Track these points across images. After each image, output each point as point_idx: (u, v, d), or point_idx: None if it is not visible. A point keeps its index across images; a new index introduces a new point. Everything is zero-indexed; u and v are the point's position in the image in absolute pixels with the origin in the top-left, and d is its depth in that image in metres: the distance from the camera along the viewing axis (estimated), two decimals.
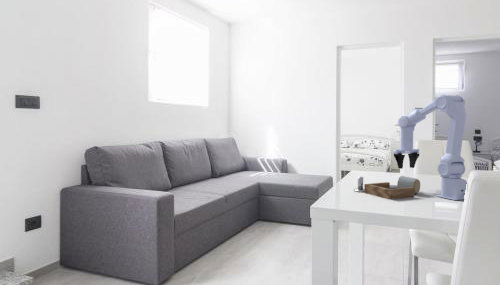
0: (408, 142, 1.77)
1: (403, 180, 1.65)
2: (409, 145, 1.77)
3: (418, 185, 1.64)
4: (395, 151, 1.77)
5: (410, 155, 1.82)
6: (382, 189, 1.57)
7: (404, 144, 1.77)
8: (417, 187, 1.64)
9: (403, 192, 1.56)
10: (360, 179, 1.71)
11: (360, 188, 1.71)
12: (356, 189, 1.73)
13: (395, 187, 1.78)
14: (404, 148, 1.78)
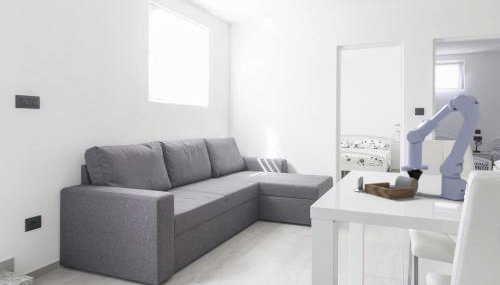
0: (417, 159, 1.65)
1: (401, 180, 1.66)
2: (417, 162, 1.65)
3: (416, 185, 1.64)
4: (403, 168, 1.66)
5: (413, 172, 1.69)
6: (382, 189, 1.57)
7: (412, 161, 1.66)
8: (415, 187, 1.64)
9: (403, 192, 1.56)
10: (360, 179, 1.71)
11: (360, 188, 1.71)
12: (356, 189, 1.73)
13: None
14: (412, 165, 1.66)
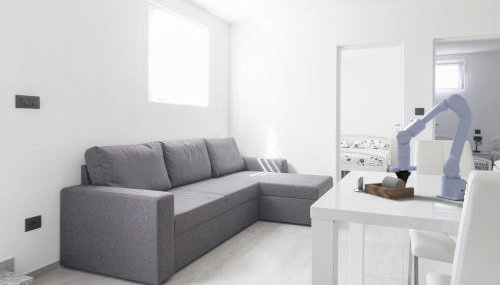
0: (405, 159, 1.63)
1: (387, 180, 1.64)
2: (405, 163, 1.63)
3: (402, 186, 1.62)
4: (390, 169, 1.63)
5: (401, 173, 1.67)
6: (382, 189, 1.57)
7: (400, 161, 1.63)
8: None
9: (403, 192, 1.56)
10: (360, 179, 1.71)
11: (360, 188, 1.71)
12: (356, 189, 1.73)
13: None
14: (400, 166, 1.64)
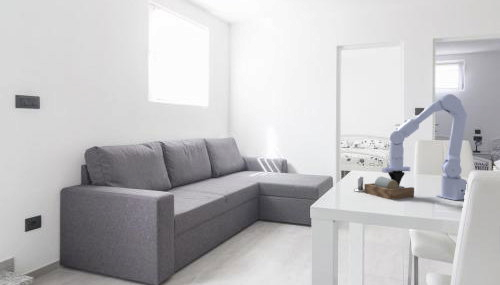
0: (398, 160, 1.61)
1: (379, 181, 1.63)
2: (398, 163, 1.61)
3: (395, 186, 1.60)
4: (383, 169, 1.61)
5: None
6: (382, 189, 1.57)
7: (393, 162, 1.62)
8: None
9: (403, 192, 1.56)
10: (360, 179, 1.71)
11: (360, 188, 1.71)
12: (356, 189, 1.73)
13: None
14: (393, 166, 1.62)
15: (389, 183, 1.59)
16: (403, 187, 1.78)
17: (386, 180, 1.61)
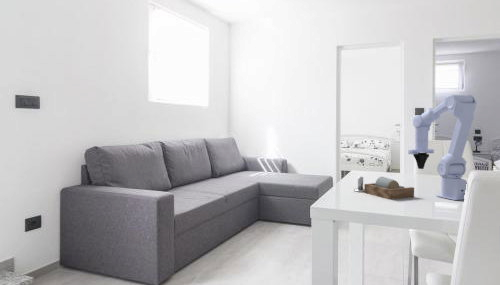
0: (423, 142, 1.73)
1: (380, 181, 1.63)
2: (424, 145, 1.73)
3: (395, 187, 1.60)
4: (410, 151, 1.73)
5: (419, 156, 1.77)
6: (382, 189, 1.57)
7: (419, 144, 1.73)
8: None
9: (403, 192, 1.56)
10: (360, 179, 1.71)
11: (360, 188, 1.71)
12: (356, 189, 1.73)
13: None
14: (419, 148, 1.73)
15: (390, 183, 1.59)
16: (403, 187, 1.78)
17: (387, 180, 1.61)
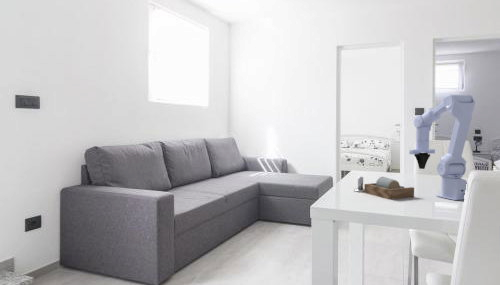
0: (424, 142, 1.73)
1: (381, 181, 1.63)
2: (425, 145, 1.73)
3: (396, 187, 1.60)
4: (411, 151, 1.73)
5: (420, 156, 1.77)
6: (382, 189, 1.57)
7: (420, 144, 1.74)
8: None
9: (403, 192, 1.56)
10: (360, 179, 1.71)
11: (360, 188, 1.71)
12: (356, 189, 1.73)
13: None
14: (420, 148, 1.74)
15: (390, 183, 1.59)
16: (403, 187, 1.78)
17: (387, 180, 1.61)
